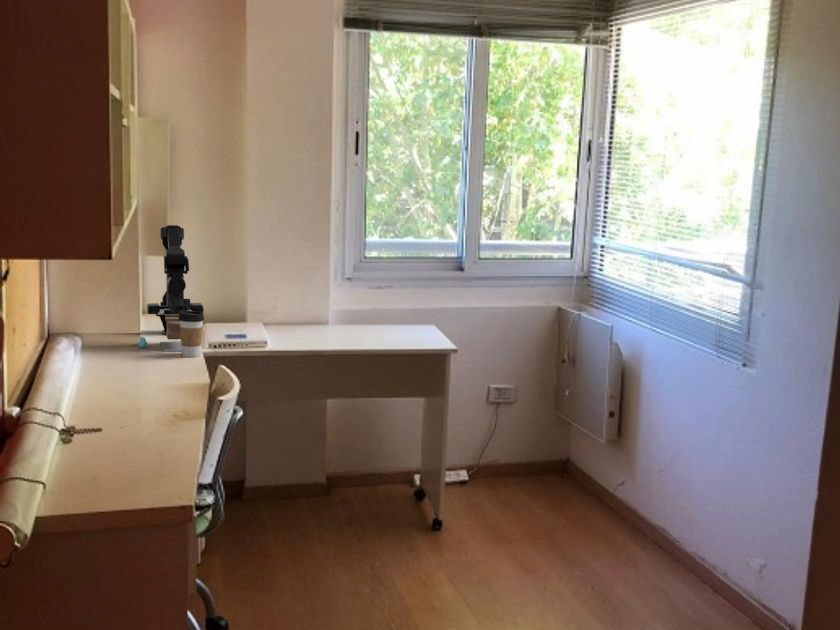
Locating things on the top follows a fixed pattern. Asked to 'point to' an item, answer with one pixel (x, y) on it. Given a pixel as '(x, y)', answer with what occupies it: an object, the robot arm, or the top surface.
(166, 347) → the felt mat
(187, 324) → the coffee cup
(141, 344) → the marble
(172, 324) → the walnut cover
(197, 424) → the top surface
